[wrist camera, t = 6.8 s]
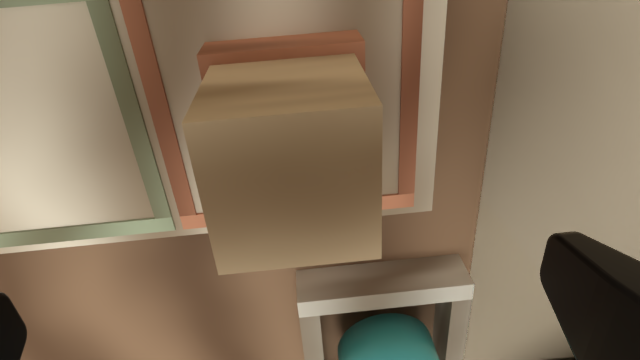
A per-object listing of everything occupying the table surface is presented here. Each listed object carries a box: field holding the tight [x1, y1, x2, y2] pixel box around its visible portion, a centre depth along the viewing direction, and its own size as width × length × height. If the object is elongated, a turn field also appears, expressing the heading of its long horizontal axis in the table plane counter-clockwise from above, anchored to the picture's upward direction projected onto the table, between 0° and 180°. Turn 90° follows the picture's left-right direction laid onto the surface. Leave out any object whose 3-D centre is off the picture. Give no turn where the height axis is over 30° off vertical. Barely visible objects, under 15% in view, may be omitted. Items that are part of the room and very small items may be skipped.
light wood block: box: [181, 30, 383, 275], centre depth 12 cm, size 5×5×6 cm
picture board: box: [0, 0, 508, 360], centre depth 16 cm, size 21×20×3 cm
